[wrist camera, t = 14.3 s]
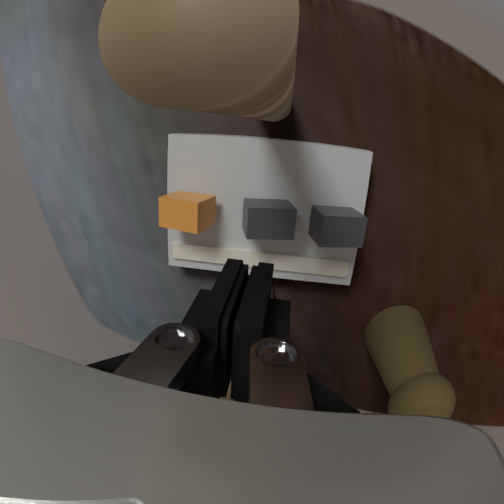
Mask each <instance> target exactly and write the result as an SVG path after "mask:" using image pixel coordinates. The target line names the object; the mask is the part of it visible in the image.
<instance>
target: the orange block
mask: <svg viewBox="0 0 504 504" xmlns="http://www.w3.org/2000/svg"><path fill="white" fill-rule="evenodd" d="M215 212H216V196H215V195H208V194H201V193H194V192H187V191H176V192H173V193H170V194H167V195H164V196H161V197H159V226H160V227H165V228H170V229H174V230H179V231H184V232H189V233H194V234H199V233H200V232H202V231H204V230H206V229H207V228H209V227H211V226H213V225H214V224H215Z"/></svg>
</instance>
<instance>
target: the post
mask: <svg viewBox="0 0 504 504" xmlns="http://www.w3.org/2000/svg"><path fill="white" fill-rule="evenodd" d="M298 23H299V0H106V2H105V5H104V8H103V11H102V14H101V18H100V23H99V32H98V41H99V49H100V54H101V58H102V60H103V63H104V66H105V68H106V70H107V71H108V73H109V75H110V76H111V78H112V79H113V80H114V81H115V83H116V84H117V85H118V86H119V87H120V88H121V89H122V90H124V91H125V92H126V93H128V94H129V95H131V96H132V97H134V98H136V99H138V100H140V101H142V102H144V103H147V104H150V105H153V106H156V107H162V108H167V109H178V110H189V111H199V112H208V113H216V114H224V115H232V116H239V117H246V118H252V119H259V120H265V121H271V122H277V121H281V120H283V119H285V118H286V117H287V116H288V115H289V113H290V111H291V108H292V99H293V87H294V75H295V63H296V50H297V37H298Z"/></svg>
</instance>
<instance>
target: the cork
mask: <svg viewBox="0 0 504 504" xmlns="http://www.w3.org/2000/svg"><path fill="white" fill-rule="evenodd" d="M364 342H365V345H366V347H367V349H368V351H369V353H370V356H371V358H372V360H373V362H374V364H375V366H376V368H377V370H378V372H379V374H380V376H381V378H382V380H383V382H384V384H385V386H386V389H387V391H388V393H389V395H390V399H389V401H388V414H413V415H427V416H436V417H442V418H450V416H451V415H452V413H453V410H454V406H455V402H456V399H455V393H454V389H453V387H452V385H451V383H450V382H449V381H448V380H447V379H446V378H445V377H443V376H442V375H440V374H439V372H438V368H437V364H436V361H435V357H434V353H433V350H432V346H431V343H430V340H429V336H428V333H427V330H426V327H425V324H424V321H423V318H422V315H421V314H420V313H419V312H418V311H417V310H416V309H415V308H412V307H410V306H402V305H398V306H393V307H389V308H387V309H385V310H383V311H381V312H379V313H378V314H377V315H376V316H375V317H374V318H373V319H371V321H370V322H369V324H368V326H367V327H366V330H365V334H364Z"/></svg>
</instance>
